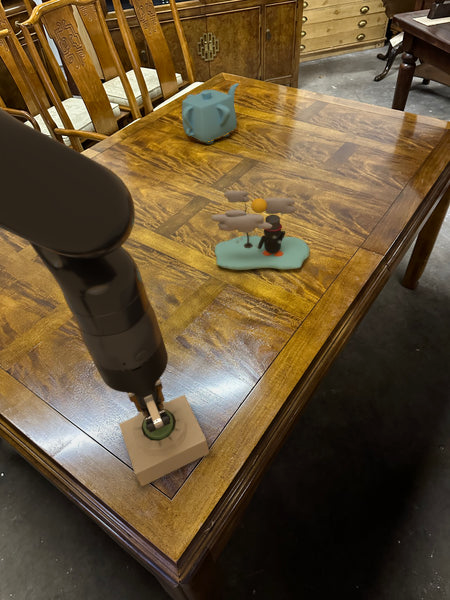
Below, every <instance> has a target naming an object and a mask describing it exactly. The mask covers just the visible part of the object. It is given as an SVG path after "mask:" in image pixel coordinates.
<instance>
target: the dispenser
mask: <svg viewBox="0 0 450 600" xmlns="http://www.w3.org/2000/svg"><path fill="white" fill-rule="evenodd" d="M163 405H164V407H163V409H165V410H166V411H168V412H169V413H170V414H171V415H172V418H173V421H174V424H175V429H174V430H173V432H172V433H171V434H170V435H169V437H166V438H164V439H162V440H160V441H154V440H150V439H148V437H147V435H146V433H145V431H144V428H143V422H144V419H145V416H143V414H142V412H138V414H137V415H136V416H134V417H131V418H129V419H127V420H125V421H122V422H120V423H118V424H119V427H120V428H119V429H120V432H121V434H122V437H123V441H124V444H125V447H126V450H127V454H128V456H129V459H130V463H131V466H132V469H133V472H134V476H136V478H137V480H138V482H139V484H140V486H141V487H144V486H146V485H148V484H150V483H152V482H154V481H156V480H158V479H160V478H162V477H165V476H167V475H168V474H170V473H172V472H174V471H177V470H178V469H180V468H183V467H185V466H187V465H188V464H190V463H192V462H195V461H196V460H199V459H201V458H202V457H205V456H206V455H207V456H208V455H209V454H210V449H209V446H208V441H207V439H206V436H205V434H204V432H203V429H202V428H201V425H200V424H199V422H198V420H197V417H196V415H195V413H194V411H193V409H192V407H191V404H190V403H189V400H188V398H187V396H186V394H183V395H180V396H178V397H176V398H173V399H171V400H169V401H164V402H163Z"/></svg>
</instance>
